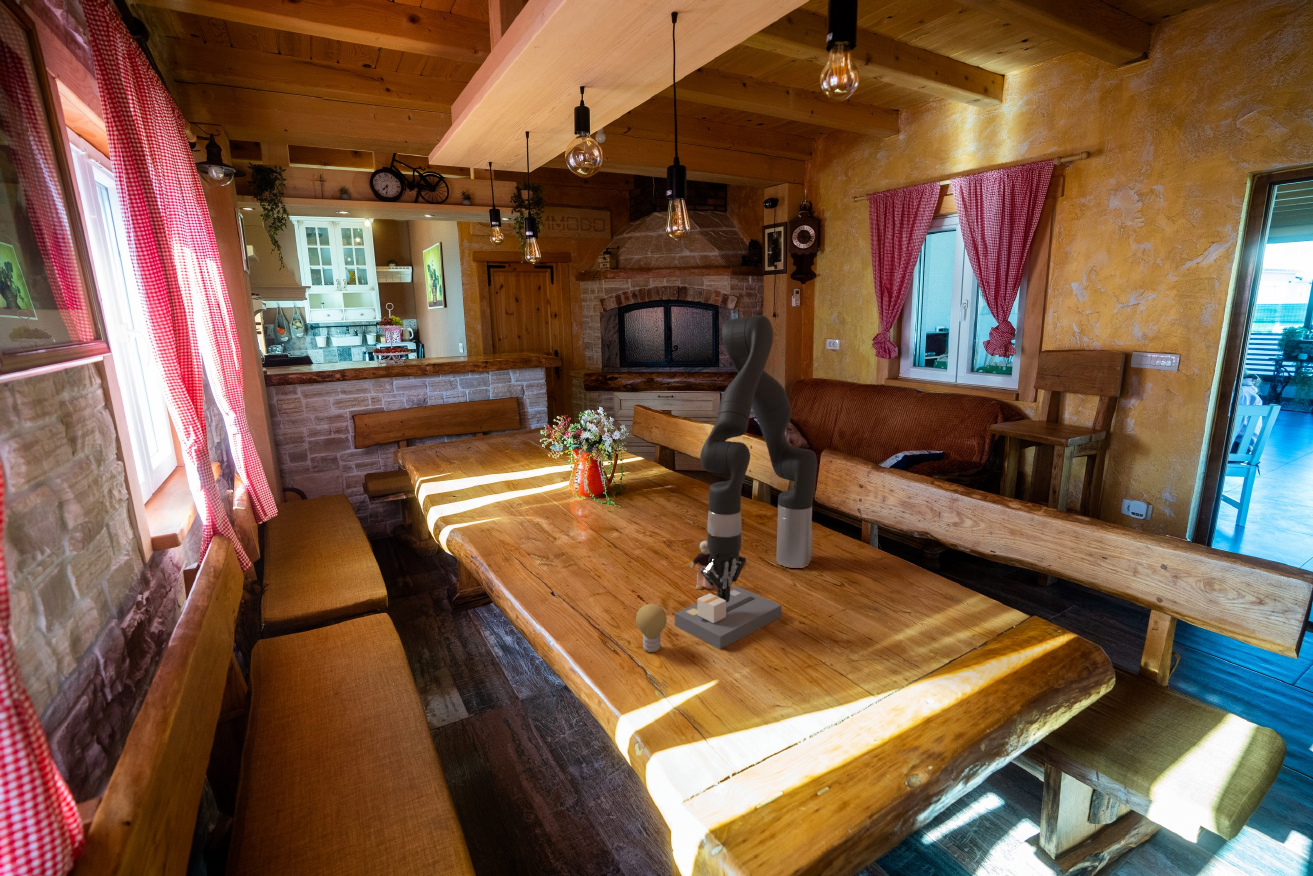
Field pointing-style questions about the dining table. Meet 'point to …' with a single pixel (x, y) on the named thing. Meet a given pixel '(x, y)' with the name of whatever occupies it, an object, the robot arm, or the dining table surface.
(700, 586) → the grandmother figurine
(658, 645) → the light bulb
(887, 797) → the dining table surface
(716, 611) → the fader knob
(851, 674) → the dining table surface
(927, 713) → the dining table surface
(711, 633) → the fader console
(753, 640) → the dining table surface
